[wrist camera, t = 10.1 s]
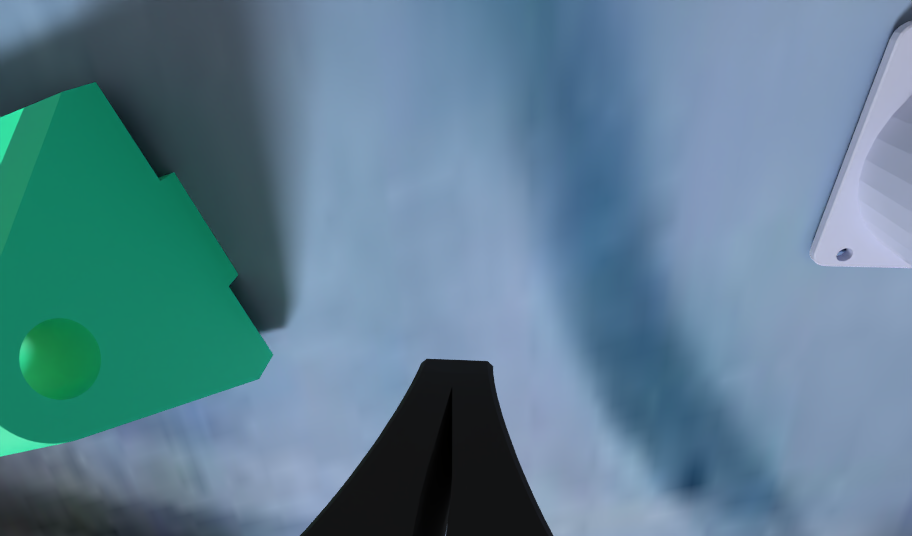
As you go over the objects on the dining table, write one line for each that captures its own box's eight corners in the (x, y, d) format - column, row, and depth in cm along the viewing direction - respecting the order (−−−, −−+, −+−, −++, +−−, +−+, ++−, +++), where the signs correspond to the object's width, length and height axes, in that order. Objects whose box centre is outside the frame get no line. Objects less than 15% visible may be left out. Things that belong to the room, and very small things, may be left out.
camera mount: (-42, 141, 20) (-483, 287, 11) (116, 75, 18) (-257, 187, 9) (146, 371, 25) (-45, 592, 16) (282, 338, 24) (149, 565, 15)
